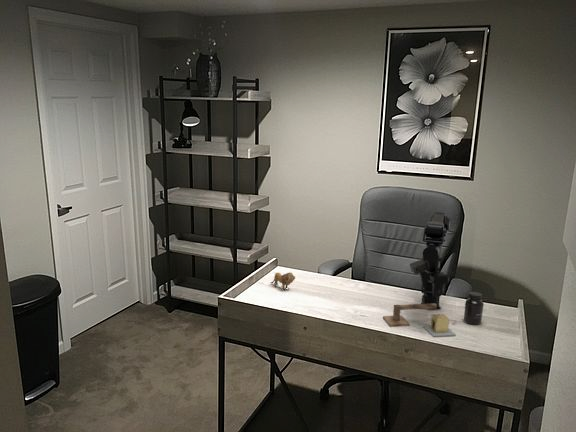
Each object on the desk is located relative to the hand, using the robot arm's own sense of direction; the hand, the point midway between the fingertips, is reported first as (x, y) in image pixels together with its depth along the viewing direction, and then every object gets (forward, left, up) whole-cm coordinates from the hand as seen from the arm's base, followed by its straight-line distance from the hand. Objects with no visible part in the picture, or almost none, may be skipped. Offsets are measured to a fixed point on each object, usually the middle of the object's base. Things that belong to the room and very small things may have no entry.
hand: (429, 291), depth 192 cm
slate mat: (0, +11, -12) cm, 16 cm away
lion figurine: (+53, -41, -12) cm, 69 cm away
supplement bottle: (-18, +4, -12) cm, 22 cm away
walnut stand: (+7, +1, -12) cm, 14 cm away
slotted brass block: (0, +11, -11) cm, 16 cm away
